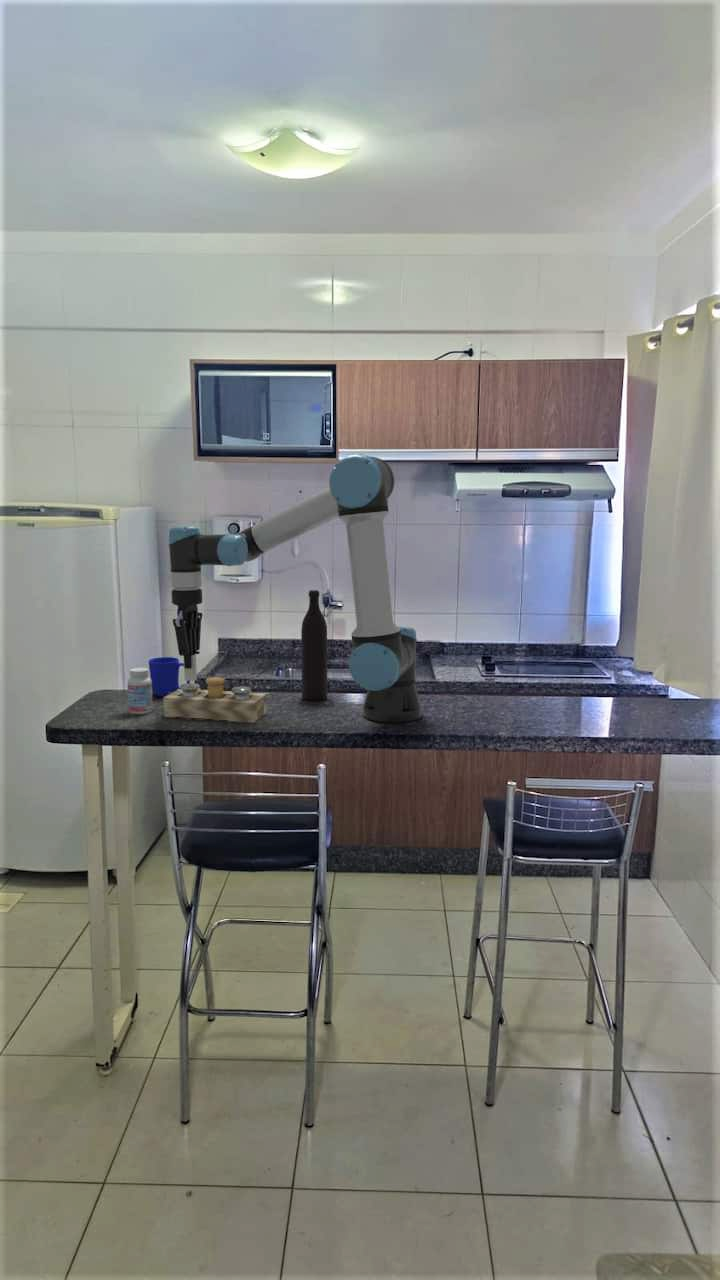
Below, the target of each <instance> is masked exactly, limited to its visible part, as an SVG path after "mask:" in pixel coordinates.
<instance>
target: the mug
mask: <svg viewBox="0 0 720 1280" xmlns="http://www.w3.org/2000/svg"><path fill="white" fill-rule="evenodd" d="M148 666H149V667H148V670H149V675H150V676H149V678H150V679H151V681H152V695H154V696H156V697H161V698H164V697H165V696H167V695H169V694H171V693H168V692H175V691H177V690H178V689H180V685H179V672H180V667H184V662H180V659H179V658H177V657H173V656H172V657H171V656H170V657H168V656H163V657H161V656H160V657H155V658H151V659H149V660H148ZM188 683H191V681H186V684H188Z"/></svg>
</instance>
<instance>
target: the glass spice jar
mask: <svg viewBox="0 0 720 1280" xmlns="http://www.w3.org/2000/svg"><path fill="white" fill-rule="evenodd" d="M231 691H232V693H234V699H237V700H248V699H249V693H252V688H251V687H250V686H246V685H244V686H241V685H240V686H234V687H232V688H231Z"/></svg>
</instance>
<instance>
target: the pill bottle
mask: <svg viewBox="0 0 720 1280" xmlns="http://www.w3.org/2000/svg"><path fill="white" fill-rule="evenodd" d="M149 675H150V669H149V668H147V667H135V668H134V667H133V668H130V669H129V676H130V677H129V678H128V680H127V681H126V682H127V703H128V707H127V708H128V713H130V714H132V715H145V714H146V715H147V714H149V713H152V711H153V708H154V707H153V692H152V681H151V677H150V676H149Z"/></svg>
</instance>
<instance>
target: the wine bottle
mask: <svg viewBox="0 0 720 1280" xmlns="http://www.w3.org/2000/svg"><path fill="white" fill-rule="evenodd" d="M319 597H320V591H319V590H317V589H316V590H315V589H312V590H309V591H308V598H309V605H308V610H307V611H306V613H305V616H304V618H303V620H302V623H301V638H300V639H301V697H302V699H303V700H305V701H309V702H319V701H323V700H326V699H327V698H328V625H327V622H326V619H325V616H324V615H323V613H322V611H321V609H320V602H319Z"/></svg>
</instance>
